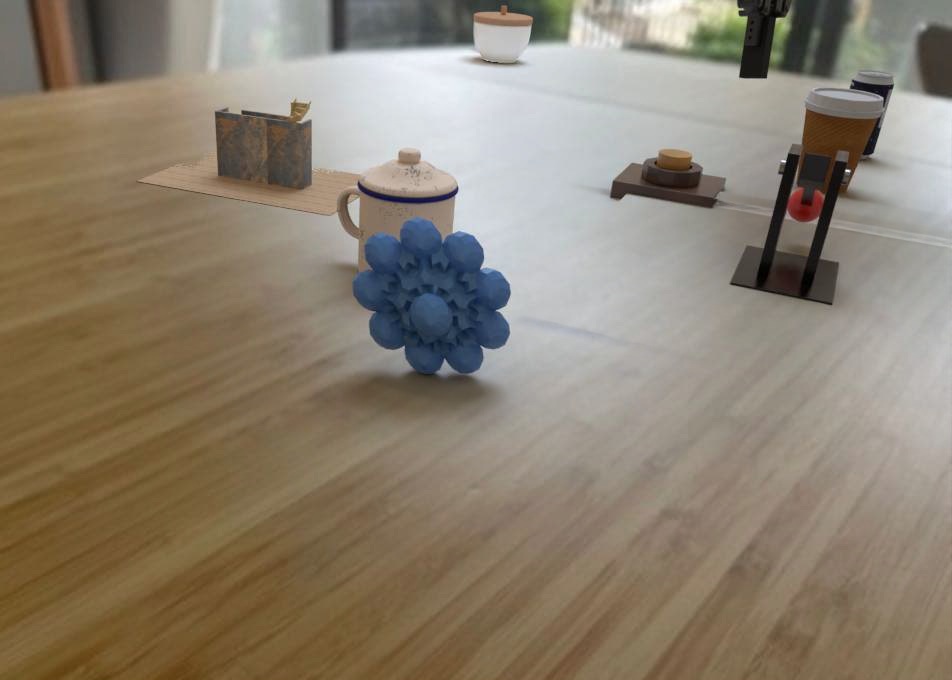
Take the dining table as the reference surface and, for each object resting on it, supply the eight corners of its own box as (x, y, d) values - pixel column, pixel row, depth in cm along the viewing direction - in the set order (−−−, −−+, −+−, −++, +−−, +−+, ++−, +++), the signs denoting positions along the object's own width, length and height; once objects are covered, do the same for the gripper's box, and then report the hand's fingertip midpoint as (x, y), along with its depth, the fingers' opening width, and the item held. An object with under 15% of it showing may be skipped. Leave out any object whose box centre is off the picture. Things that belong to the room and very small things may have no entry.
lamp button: (692, 166, 112) (695, 152, 111) (686, 173, 108) (689, 159, 107) (659, 161, 113) (662, 147, 112) (653, 168, 110) (655, 153, 109)
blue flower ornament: (342, 394, 65) (345, 233, 59) (354, 352, 70) (358, 202, 65) (505, 407, 64) (524, 247, 58) (504, 364, 70) (521, 214, 64)
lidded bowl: (499, 54, 204) (504, 1, 199) (540, 63, 196) (546, 8, 191) (458, 57, 197) (462, 3, 192) (499, 67, 189) (504, 10, 183)
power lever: (782, 222, 96) (791, 189, 96) (818, 229, 94) (827, 195, 94) (788, 183, 82) (799, 144, 82) (830, 189, 81) (841, 151, 81)
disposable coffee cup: (784, 191, 117) (808, 96, 111) (782, 173, 125) (805, 83, 119) (862, 202, 115) (892, 105, 109) (856, 183, 123) (883, 91, 117)
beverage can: (843, 149, 140) (866, 68, 134) (878, 157, 136) (904, 74, 131) (824, 153, 137) (847, 70, 131) (860, 162, 133) (885, 77, 127)
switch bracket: (744, 255, 95) (774, 132, 89) (835, 273, 92) (873, 146, 85) (727, 294, 85) (759, 158, 79) (828, 315, 82) (871, 175, 76)
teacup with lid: (468, 270, 87) (479, 148, 81) (421, 300, 80) (429, 170, 74) (363, 243, 92) (366, 127, 86) (310, 269, 85) (310, 145, 79)
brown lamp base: (722, 195, 114) (729, 163, 112) (709, 216, 106) (717, 182, 104) (628, 179, 118) (634, 148, 117) (609, 198, 110) (615, 165, 109)
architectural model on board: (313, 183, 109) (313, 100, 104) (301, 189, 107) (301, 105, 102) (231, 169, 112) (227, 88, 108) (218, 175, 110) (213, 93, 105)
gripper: (783, -133, 105) (751, 81, 112) (724, -160, 97) (693, 74, 103) (848, -144, 100) (810, 82, 106) (791, -174, 91) (754, 74, 98)
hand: (752, 77), depth 105 cm, fingers closed
